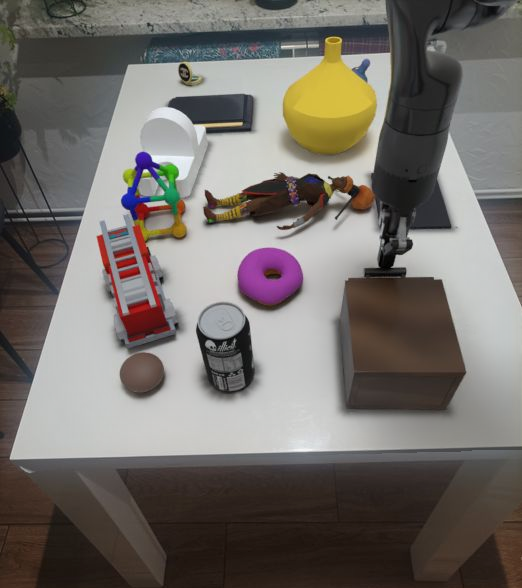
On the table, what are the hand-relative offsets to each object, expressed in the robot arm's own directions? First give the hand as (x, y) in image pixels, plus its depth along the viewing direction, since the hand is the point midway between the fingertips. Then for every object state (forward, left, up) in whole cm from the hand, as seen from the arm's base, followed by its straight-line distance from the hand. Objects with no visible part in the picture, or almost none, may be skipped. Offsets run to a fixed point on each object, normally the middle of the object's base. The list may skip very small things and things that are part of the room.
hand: (384, 264), depth 69 cm
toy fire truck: (+37, +3, -6) cm, 38 cm away
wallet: (+32, -54, -6) cm, 63 cm away
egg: (+34, +17, -6) cm, 38 cm away
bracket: (+37, -34, -6) cm, 51 cm away
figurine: (+14, -20, -6) cm, 25 cm away
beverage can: (+22, +16, -6) cm, 28 cm away
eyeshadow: (+38, -71, -6) cm, 81 cm away
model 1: (+37, -16, -6) cm, 41 cm away
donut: (+17, -1, -6) cm, 18 cm away
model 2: (+2, -58, -6) cm, 59 cm away
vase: (+6, -42, -6) cm, 43 cm away
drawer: (0, +10, -5) cm, 11 cm away
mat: (-8, -22, -6) cm, 24 cm away
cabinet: (0, +14, -6) cm, 15 cm away
